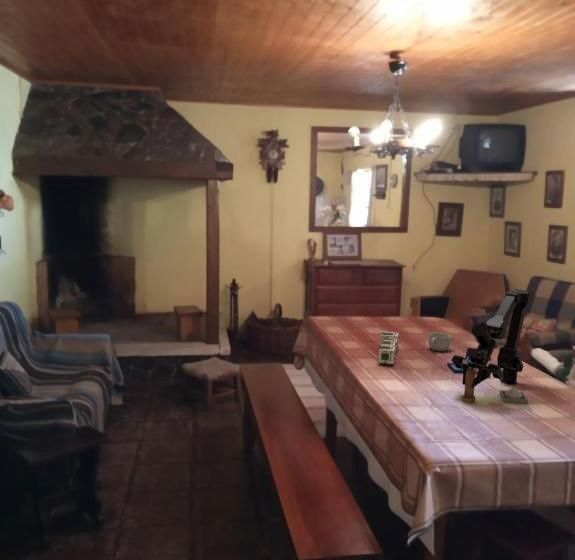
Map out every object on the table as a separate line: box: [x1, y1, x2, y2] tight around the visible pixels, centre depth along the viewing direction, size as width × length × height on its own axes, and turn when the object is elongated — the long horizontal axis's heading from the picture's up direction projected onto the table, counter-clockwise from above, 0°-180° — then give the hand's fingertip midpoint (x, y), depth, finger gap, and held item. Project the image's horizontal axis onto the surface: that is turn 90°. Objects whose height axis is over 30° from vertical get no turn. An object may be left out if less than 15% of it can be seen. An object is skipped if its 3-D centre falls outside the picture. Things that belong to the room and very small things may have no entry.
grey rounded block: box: [428, 331, 452, 352], centre depth 280 cm, size 14×11×8 cm
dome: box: [504, 387, 522, 399], centre depth 212 cm, size 6×6×4 cm
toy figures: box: [377, 330, 400, 365], centre depth 270 cm, size 35×8×7 cm, turn 165°
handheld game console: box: [446, 355, 474, 374], centre depth 250 cm, size 12×11×7 cm
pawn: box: [461, 370, 476, 404], centre depth 209 cm, size 5×5×12 cm
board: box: [458, 389, 533, 411], centre depth 212 cm, size 14×24×3 cm, turn 80°
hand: (467, 385), depth 208 cm, fingers closed on pawn, 3 cm apart
